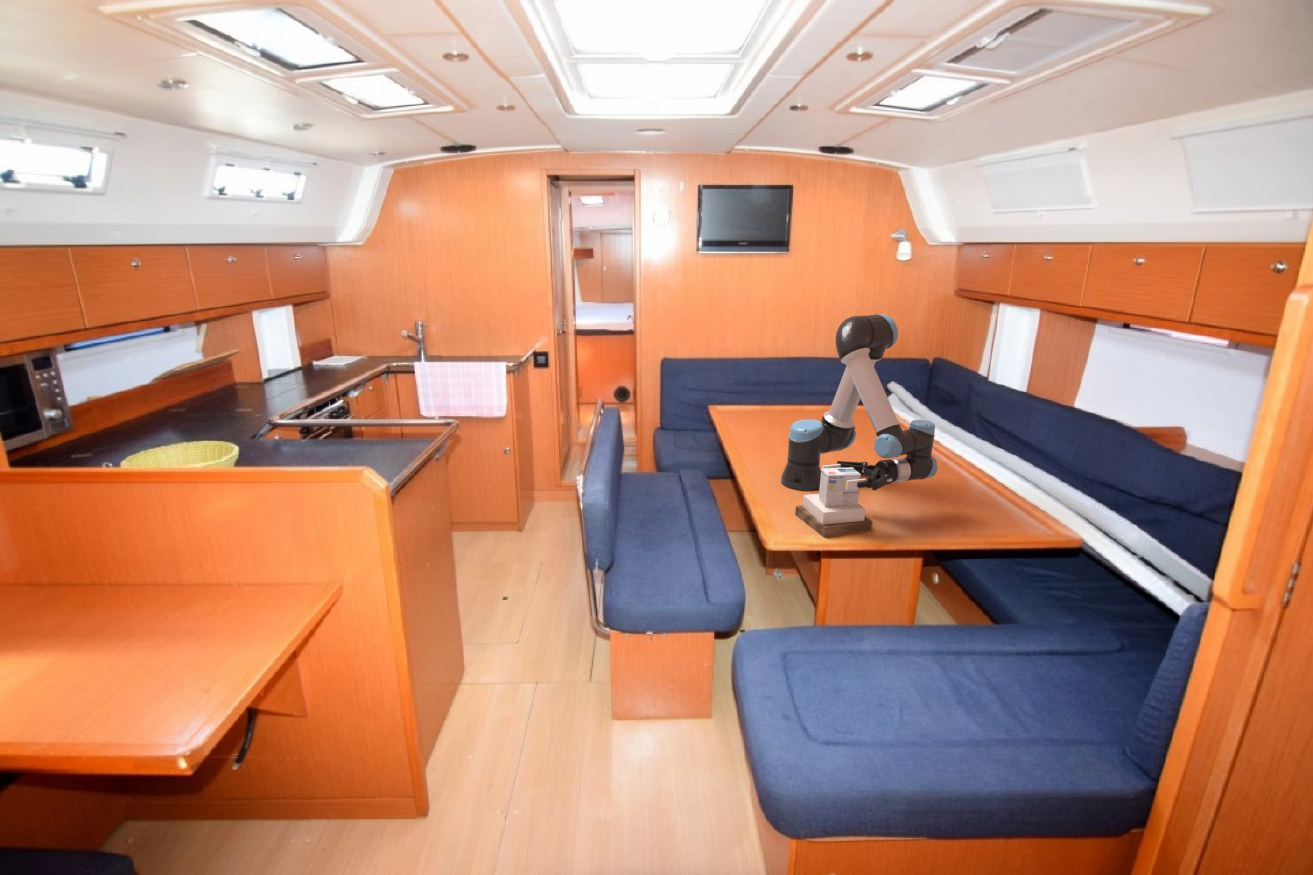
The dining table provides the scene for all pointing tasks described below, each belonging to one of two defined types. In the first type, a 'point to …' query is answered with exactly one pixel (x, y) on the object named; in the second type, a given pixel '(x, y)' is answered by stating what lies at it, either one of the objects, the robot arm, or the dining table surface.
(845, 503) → the light bulb box
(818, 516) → the white slab
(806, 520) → the walnut slab
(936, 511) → the dining table surface
